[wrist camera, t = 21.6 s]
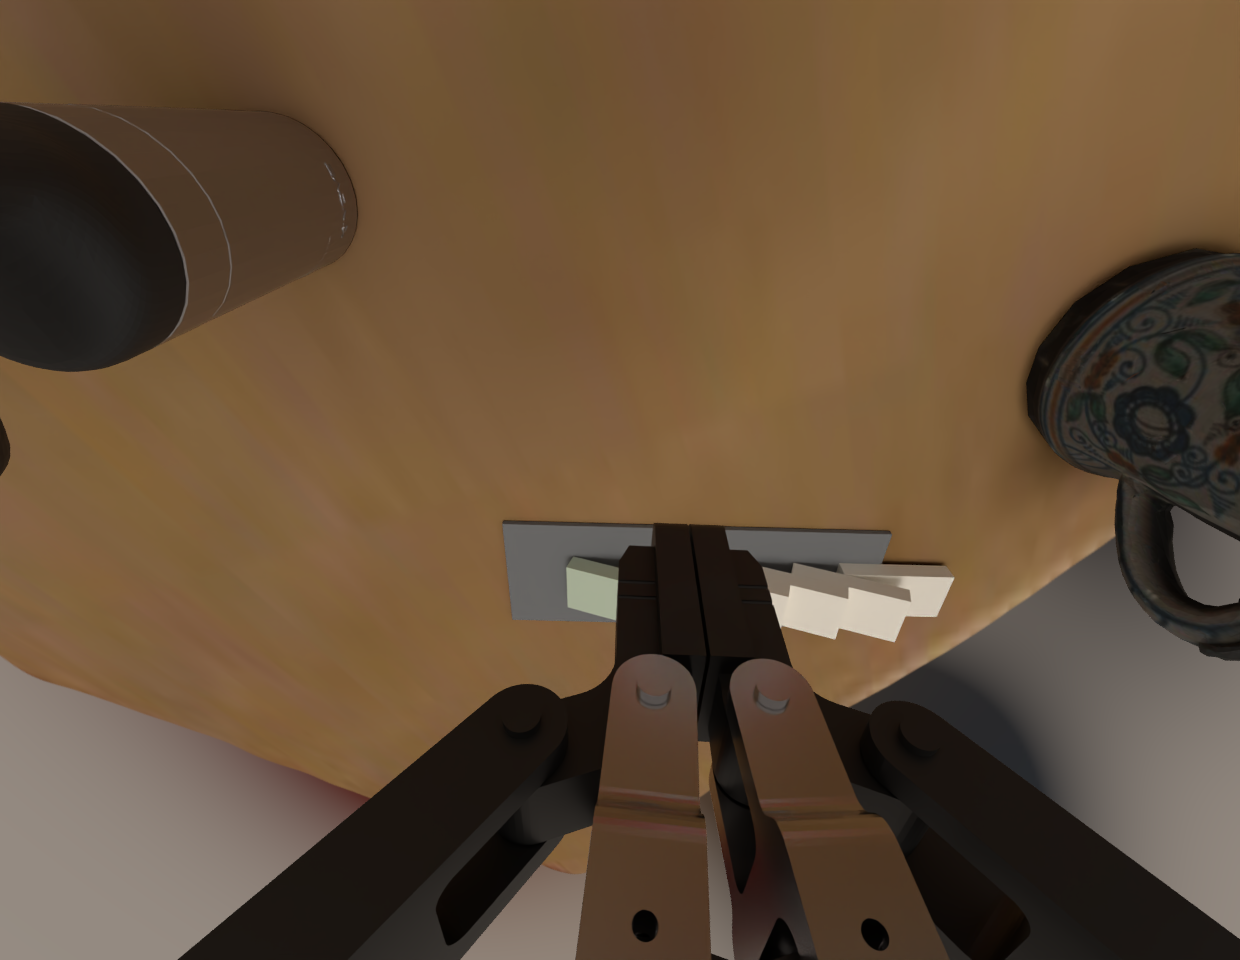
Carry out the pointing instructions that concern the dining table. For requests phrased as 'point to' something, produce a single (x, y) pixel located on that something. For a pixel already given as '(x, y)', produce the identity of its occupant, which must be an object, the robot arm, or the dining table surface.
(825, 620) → the domino
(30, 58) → the dining table surface
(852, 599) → the domino
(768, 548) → the mat
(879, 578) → the domino
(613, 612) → the domino
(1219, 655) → the beer stein
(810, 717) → the robot arm
